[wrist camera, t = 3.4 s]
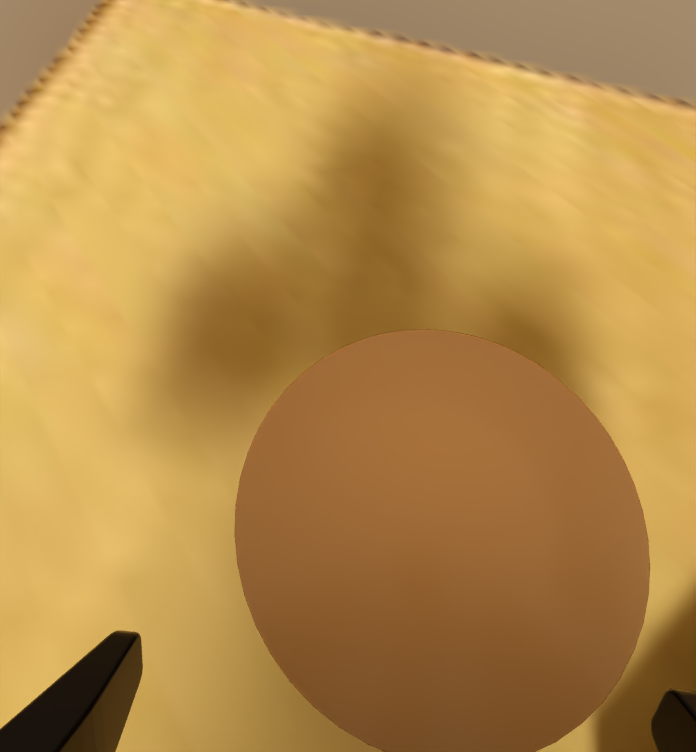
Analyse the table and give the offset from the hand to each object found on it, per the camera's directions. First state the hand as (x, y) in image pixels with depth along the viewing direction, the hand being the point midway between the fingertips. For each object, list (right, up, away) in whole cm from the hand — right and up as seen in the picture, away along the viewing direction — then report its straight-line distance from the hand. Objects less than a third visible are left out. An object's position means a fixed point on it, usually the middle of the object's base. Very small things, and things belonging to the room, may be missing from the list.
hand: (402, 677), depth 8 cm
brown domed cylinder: (0, -2, +10) cm, 10 cm away
